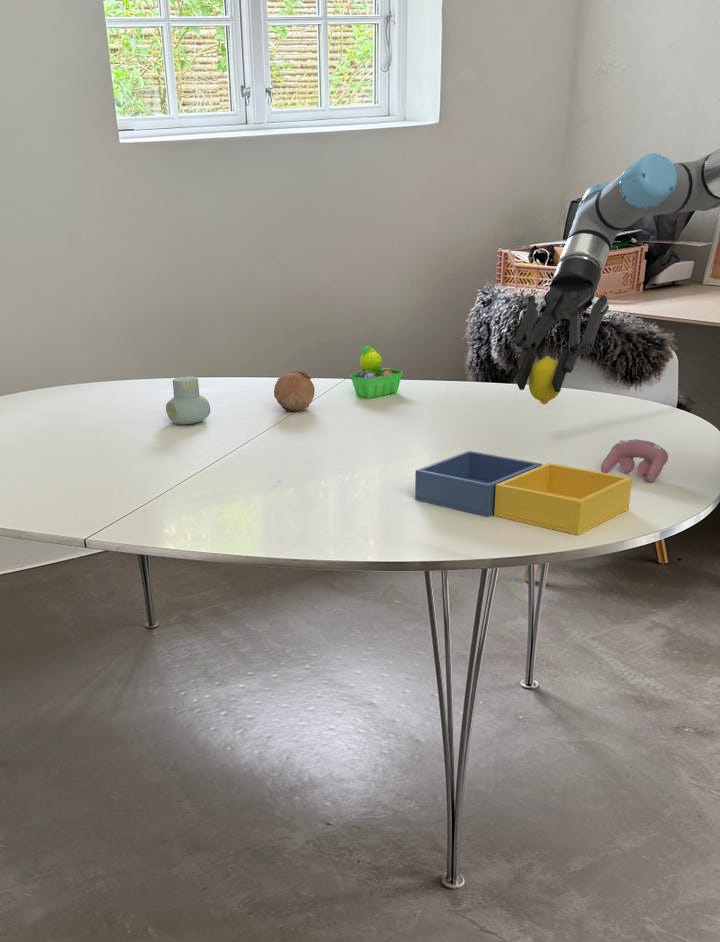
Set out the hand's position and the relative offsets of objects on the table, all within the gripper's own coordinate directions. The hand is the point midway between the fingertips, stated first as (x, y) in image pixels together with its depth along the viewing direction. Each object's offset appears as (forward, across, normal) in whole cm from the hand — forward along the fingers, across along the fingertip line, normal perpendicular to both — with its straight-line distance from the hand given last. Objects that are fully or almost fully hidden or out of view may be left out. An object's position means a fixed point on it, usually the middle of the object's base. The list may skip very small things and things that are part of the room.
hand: (537, 386), depth 158 cm
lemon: (0, 0, -5) cm, 5 cm away
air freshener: (+3, +87, -20) cm, 89 cm away
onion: (-11, +70, -33) cm, 78 cm away
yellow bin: (+22, -10, -1) cm, 24 cm away
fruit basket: (-26, +60, -48) cm, 81 cm away
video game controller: (+5, -14, -18) cm, 24 cm away
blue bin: (+20, +4, -2) cm, 21 cm away
